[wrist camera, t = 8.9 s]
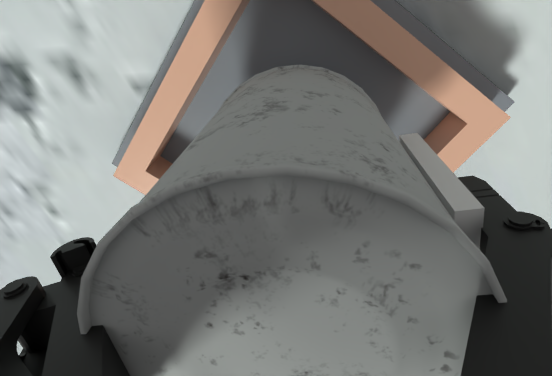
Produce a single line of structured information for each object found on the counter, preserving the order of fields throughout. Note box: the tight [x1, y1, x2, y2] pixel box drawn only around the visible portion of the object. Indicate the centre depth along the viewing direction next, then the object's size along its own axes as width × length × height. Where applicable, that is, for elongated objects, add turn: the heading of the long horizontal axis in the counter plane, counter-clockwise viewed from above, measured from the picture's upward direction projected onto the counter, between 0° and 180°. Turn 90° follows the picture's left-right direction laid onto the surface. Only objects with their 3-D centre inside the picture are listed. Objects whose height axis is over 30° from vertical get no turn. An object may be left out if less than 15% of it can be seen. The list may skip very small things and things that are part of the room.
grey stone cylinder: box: [77, 65, 507, 376], centre depth 14 cm, size 10×10×12 cm
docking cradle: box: [112, 0, 514, 195], centre depth 22 cm, size 18×18×4 cm
